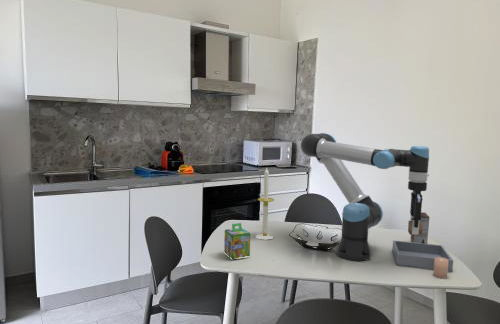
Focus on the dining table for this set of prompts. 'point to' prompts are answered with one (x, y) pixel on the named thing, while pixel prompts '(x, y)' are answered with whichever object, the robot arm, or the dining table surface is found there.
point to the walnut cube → (411, 228)
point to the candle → (265, 203)
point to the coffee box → (425, 227)
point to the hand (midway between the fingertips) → (414, 232)
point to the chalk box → (237, 242)
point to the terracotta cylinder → (440, 267)
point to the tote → (419, 255)
